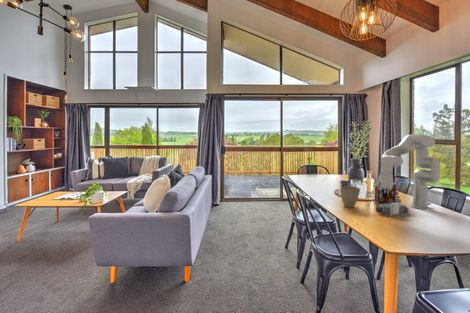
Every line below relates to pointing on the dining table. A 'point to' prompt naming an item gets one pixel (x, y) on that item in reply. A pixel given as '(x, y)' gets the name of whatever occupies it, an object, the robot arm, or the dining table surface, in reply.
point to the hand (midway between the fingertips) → (384, 197)
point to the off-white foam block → (394, 208)
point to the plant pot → (349, 195)
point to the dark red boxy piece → (390, 199)
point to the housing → (386, 209)
